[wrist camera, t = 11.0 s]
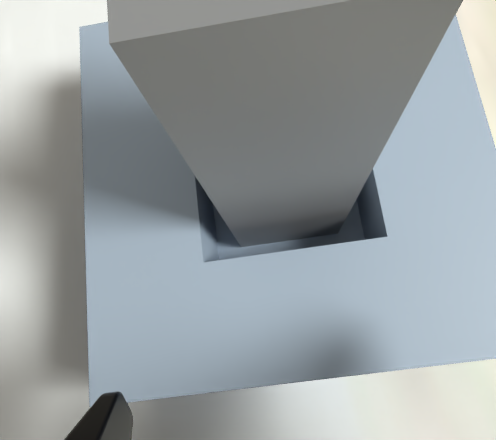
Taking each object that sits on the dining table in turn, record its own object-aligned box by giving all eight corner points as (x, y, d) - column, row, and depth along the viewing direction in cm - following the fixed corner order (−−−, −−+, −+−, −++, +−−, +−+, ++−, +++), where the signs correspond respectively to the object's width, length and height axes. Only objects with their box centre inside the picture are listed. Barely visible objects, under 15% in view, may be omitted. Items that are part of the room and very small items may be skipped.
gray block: (338, 233, 17) (474, -22, 4) (241, 247, 17) (109, 43, 5) (321, 143, 18) (394, -272, 5) (230, 158, 18) (97, -208, 6)
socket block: (485, 343, 16) (556, 351, 12) (140, 385, 17) (89, 406, 13) (407, 40, 20) (439, -39, 15) (123, 89, 21) (79, 27, 16)
